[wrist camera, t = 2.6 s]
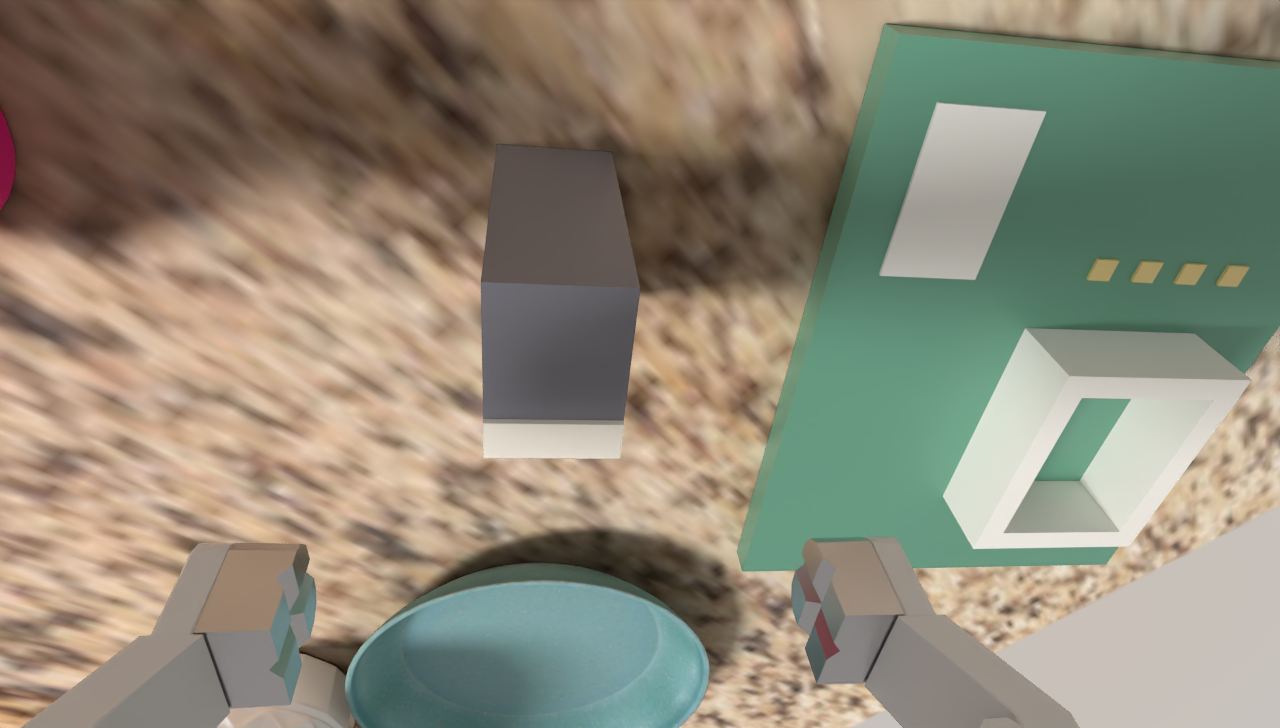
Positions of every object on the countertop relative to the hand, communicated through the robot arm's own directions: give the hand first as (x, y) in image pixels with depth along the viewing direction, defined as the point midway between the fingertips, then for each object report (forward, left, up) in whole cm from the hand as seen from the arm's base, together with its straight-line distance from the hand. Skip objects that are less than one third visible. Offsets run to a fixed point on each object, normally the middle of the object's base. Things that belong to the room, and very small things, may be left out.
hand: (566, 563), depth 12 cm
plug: (-1, 0, -11) cm, 11 cm away
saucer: (+19, 0, -12) cm, 23 cm away
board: (+3, +16, -11) cm, 20 cm away
